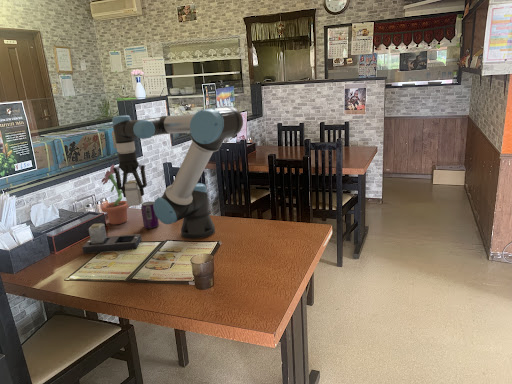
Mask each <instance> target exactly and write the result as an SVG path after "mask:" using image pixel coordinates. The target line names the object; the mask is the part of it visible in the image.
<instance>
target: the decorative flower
mask: <svg viewBox="0 0 512 384" xmlns="http://www.w3.org/2000/svg"><path fill="white" fill-rule="evenodd" d="M115 167H116V166H115V164H112V165H111V166H110V168H109V169H108V170H107V171H106V172H105V174H104V177H102V179H101V183H102V185H105V184H107V183H108V182H109V180H110V181H111V183H112V184H113V185H112V187H111V189H110V193H112V192H113V191H114V189H115V190H116V192H117V196H118V198H117V199H116V200H114V201H112V202H108V203H106V204H104V205H102V207H101V212H103V213H106V214H107V218H108V220H109V223H110V224H111V225H120V224H125V223H126V222H127V221H128V210H127V209H129V208H130V207H131V206H128V205H127V201H126V200H122V199H123V195H122V194H123V191H122V190H118V188H117V182H116V179H115V176H114V174H115V172H114V170H113V168H115Z"/></svg>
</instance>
